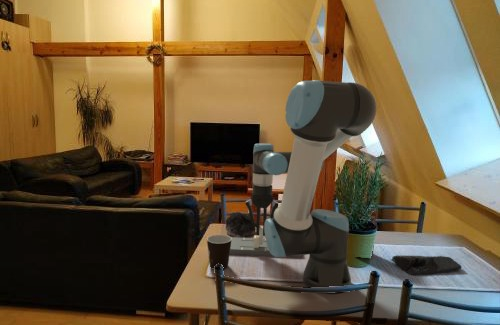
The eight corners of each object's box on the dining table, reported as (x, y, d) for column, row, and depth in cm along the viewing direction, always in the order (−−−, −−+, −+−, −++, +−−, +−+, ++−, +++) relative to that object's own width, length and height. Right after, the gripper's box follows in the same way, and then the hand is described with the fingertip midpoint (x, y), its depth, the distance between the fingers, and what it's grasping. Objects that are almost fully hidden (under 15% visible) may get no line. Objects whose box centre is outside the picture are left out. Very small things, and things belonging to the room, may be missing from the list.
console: (302, 257, 132) (302, 252, 132) (228, 254, 133) (228, 249, 133) (298, 244, 145) (299, 239, 145) (232, 241, 147) (232, 236, 146)
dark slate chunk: (468, 276, 120) (470, 263, 120) (407, 277, 119) (409, 264, 118) (440, 258, 136) (441, 246, 135) (386, 258, 134) (387, 247, 133)
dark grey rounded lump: (258, 238, 153) (260, 216, 153) (229, 238, 150) (231, 215, 149) (250, 231, 166) (252, 210, 166) (222, 230, 162) (224, 209, 162)
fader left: (258, 248, 134) (259, 238, 133) (253, 248, 134) (253, 237, 134) (258, 245, 137) (259, 235, 137) (253, 245, 137) (254, 235, 137)
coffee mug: (227, 272, 118) (227, 244, 116) (203, 269, 119) (203, 242, 118) (235, 259, 129) (236, 233, 128) (213, 256, 131) (213, 231, 129)
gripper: (279, 182, 136) (277, 240, 139) (246, 181, 136) (244, 239, 140) (279, 186, 128) (277, 247, 132) (244, 185, 129) (243, 246, 132)
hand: (260, 243), depth 136 cm, fingers closed
